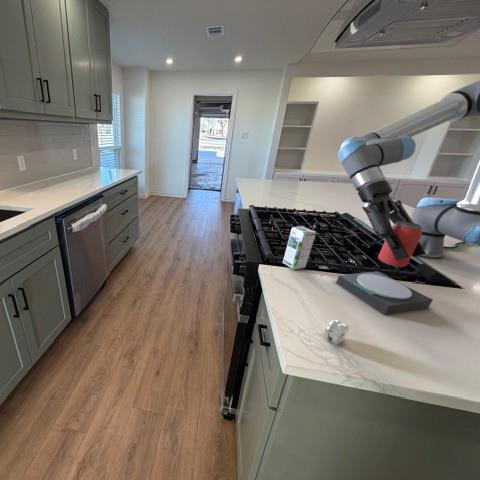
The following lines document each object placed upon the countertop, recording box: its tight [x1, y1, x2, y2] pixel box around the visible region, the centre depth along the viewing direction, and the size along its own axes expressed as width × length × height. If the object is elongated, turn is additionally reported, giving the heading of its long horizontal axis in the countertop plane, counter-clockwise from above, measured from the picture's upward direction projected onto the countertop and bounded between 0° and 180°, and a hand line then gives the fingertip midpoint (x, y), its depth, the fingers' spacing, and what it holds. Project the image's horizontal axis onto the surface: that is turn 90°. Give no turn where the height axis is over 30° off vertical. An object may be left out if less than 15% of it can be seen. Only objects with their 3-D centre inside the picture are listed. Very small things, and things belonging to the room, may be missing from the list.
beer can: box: [377, 221, 423, 268], centre depth 72 cm, size 7×7×12 cm
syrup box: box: [282, 226, 317, 271], centre depth 92 cm, size 6×6×14 cm
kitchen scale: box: [336, 271, 434, 316], centre depth 78 cm, size 16×16×4 cm
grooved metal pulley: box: [323, 319, 350, 345], centre depth 60 cm, size 5×3×5 cm, turn 122°
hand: (411, 256), depth 70 cm, fingers closed on beer can, 6 cm apart
